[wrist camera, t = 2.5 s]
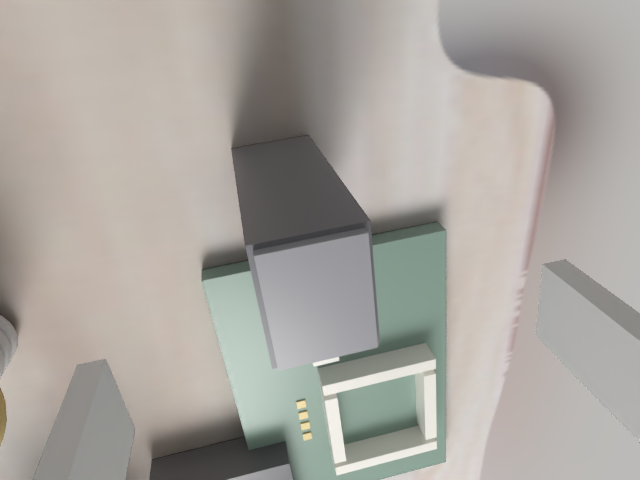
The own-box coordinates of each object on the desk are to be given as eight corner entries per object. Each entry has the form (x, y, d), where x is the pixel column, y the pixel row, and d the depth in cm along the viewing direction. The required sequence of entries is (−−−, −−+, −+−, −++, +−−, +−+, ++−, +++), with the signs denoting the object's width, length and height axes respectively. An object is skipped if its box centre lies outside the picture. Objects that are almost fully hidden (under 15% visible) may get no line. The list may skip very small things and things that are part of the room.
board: (202, 269, 27) (201, 296, 25) (437, 221, 29) (458, 242, 26) (263, 495, 36) (267, 531, 34) (439, 449, 38) (455, 480, 36)
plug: (231, 148, 24) (246, 252, 14) (308, 134, 25) (373, 225, 15) (252, 248, 27) (277, 393, 17) (321, 234, 28) (384, 367, 18)
